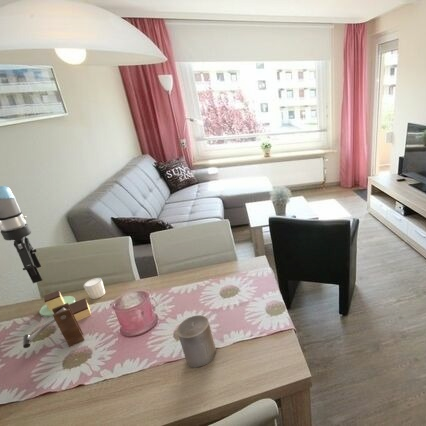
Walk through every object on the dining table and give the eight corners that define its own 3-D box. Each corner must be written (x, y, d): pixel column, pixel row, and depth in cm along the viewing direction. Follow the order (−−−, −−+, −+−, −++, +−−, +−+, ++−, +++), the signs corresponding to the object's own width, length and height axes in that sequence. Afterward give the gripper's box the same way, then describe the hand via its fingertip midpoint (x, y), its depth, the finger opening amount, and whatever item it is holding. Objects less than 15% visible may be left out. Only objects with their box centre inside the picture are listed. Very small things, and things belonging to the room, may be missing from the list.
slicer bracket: (61, 357, 103) (42, 322, 96) (59, 343, 108) (41, 310, 102) (95, 340, 109) (79, 307, 102) (92, 329, 114) (77, 297, 108)
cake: (68, 327, 115) (62, 317, 113) (66, 317, 121) (61, 307, 119) (92, 317, 120) (87, 307, 118) (89, 307, 126) (85, 298, 124)
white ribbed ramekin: (96, 301, 130) (90, 288, 127) (85, 298, 132) (79, 285, 129) (110, 291, 135) (105, 279, 133) (99, 288, 138) (94, 276, 135)
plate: (40, 321, 119) (39, 319, 119) (40, 306, 128) (39, 305, 127) (77, 306, 127) (76, 304, 126) (74, 294, 135) (73, 292, 134)
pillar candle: (203, 340, 107) (194, 308, 101) (222, 350, 102) (214, 318, 96) (180, 360, 99) (169, 327, 93) (199, 373, 94) (189, 338, 88)
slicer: (27, 349, 96) (20, 346, 95) (27, 340, 100) (20, 336, 99) (70, 315, 102) (64, 312, 101) (68, 308, 106) (63, 304, 104)
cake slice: (49, 311, 123) (44, 301, 121) (49, 305, 127) (43, 295, 125) (64, 305, 126) (59, 295, 124) (63, 299, 130) (58, 290, 128)
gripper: (27, 234, 103) (51, 283, 112) (27, 215, 120) (48, 259, 128) (-3, 241, 99) (24, 292, 107) (1, 220, 115) (24, 266, 124)
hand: (37, 274), depth 118 cm, fingers open, 13 cm apart
